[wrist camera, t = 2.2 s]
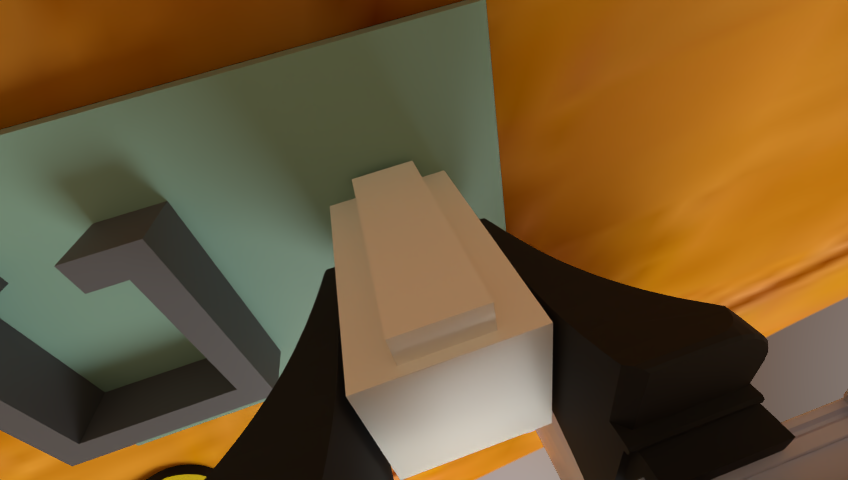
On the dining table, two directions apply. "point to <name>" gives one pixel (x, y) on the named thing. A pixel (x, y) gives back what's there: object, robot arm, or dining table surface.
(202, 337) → the board
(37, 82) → the dining table surface
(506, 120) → the dining table surface
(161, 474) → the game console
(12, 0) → the dining table surface
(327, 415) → the robot arm
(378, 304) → the keyed plug
